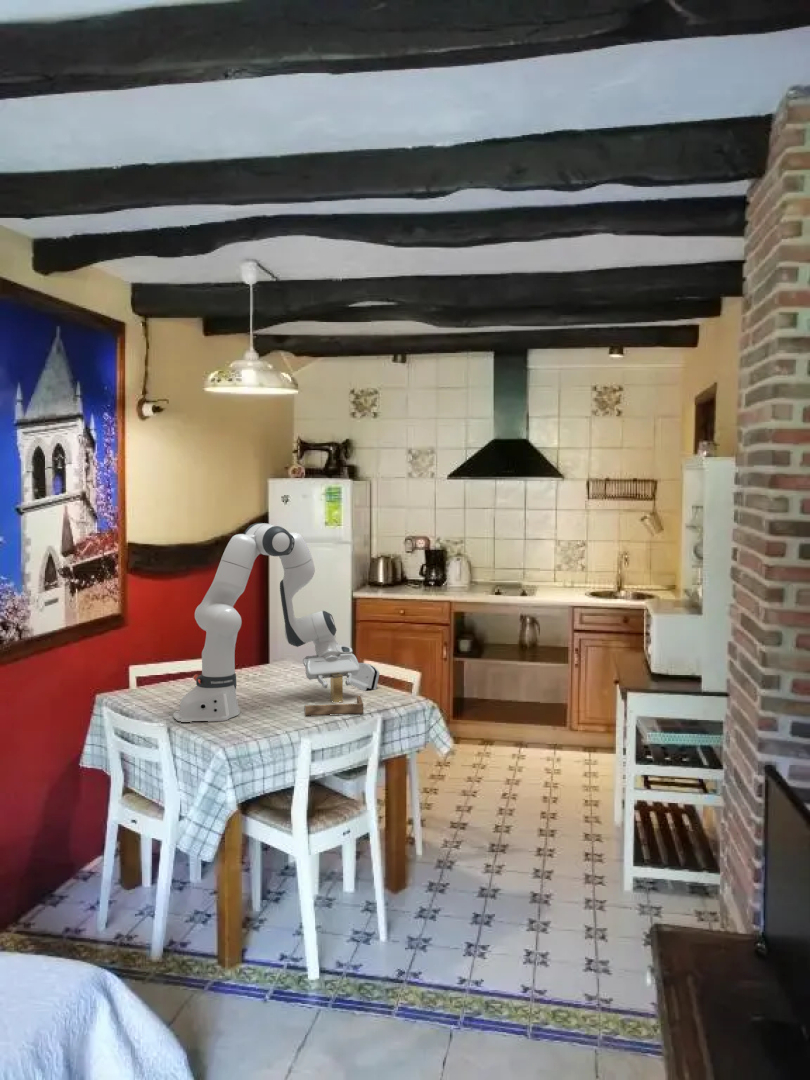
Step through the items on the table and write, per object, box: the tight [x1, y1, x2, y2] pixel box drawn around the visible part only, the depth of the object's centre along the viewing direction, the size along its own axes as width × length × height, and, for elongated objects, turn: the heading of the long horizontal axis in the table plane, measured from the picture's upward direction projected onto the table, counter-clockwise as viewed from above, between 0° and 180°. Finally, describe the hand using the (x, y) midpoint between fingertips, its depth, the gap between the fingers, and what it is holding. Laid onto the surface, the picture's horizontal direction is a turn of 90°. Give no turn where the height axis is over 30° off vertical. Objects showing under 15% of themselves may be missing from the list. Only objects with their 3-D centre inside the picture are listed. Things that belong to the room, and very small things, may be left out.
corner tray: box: [304, 695, 364, 717], centre depth 306 cm, size 20×12×4 cm, turn 98°
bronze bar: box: [330, 673, 344, 703], centre depth 319 cm, size 4×4×10 cm
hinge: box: [346, 662, 380, 692], centre depth 343 cm, size 17×5×10 cm, turn 32°
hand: (337, 685), depth 318 cm, fingers open, 8 cm apart
